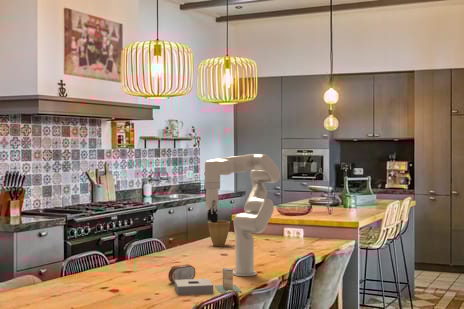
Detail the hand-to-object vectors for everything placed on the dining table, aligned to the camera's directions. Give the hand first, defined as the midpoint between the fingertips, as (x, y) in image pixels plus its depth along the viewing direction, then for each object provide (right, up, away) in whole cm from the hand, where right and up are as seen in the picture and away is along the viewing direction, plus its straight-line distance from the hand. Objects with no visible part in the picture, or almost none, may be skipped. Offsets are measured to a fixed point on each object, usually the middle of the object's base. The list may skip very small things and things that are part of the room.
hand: (212, 221), depth 296 cm
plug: (+8, -30, -12) cm, 33 cm away
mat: (+8, -31, -12) cm, 34 cm away
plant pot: (+1, -29, +114) cm, 117 cm away
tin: (-15, -31, +3) cm, 34 cm away
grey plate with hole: (-8, -31, -15) cm, 35 cm away
